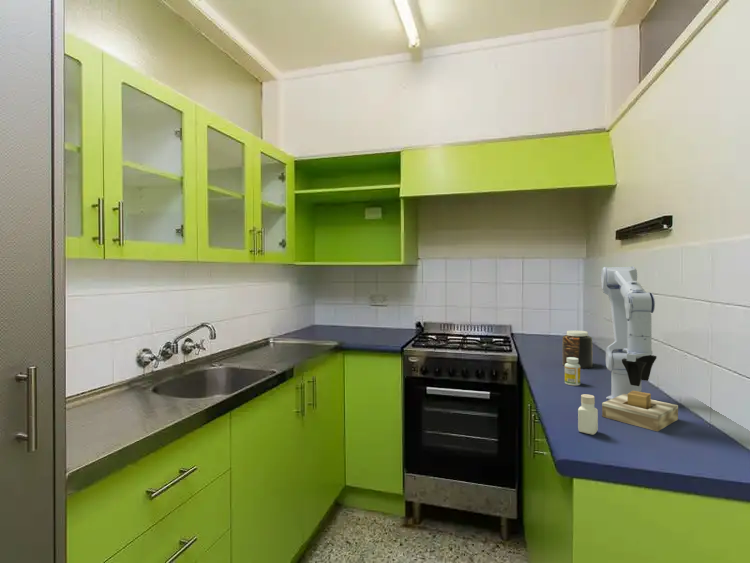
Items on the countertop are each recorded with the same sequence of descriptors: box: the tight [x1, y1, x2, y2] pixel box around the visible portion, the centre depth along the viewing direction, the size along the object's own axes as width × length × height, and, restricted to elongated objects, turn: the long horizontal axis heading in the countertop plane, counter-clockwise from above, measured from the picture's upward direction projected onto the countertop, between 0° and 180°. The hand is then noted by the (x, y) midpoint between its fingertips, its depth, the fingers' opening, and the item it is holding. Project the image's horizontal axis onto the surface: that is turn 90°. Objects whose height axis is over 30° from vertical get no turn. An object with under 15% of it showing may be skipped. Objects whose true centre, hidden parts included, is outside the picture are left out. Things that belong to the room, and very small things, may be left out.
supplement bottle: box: [564, 357, 581, 387], centre depth 151 cm, size 5×5×10 cm
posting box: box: [601, 394, 679, 432], centre depth 116 cm, size 14×14×4 cm
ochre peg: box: [628, 391, 652, 410], centre depth 116 cm, size 4×4×7 cm
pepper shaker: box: [577, 393, 599, 435], centre depth 107 cm, size 4×4×10 cm
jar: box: [561, 330, 594, 369], centre depth 179 cm, size 12×12×15 cm
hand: (639, 382), depth 116 cm, fingers open, 7 cm apart
